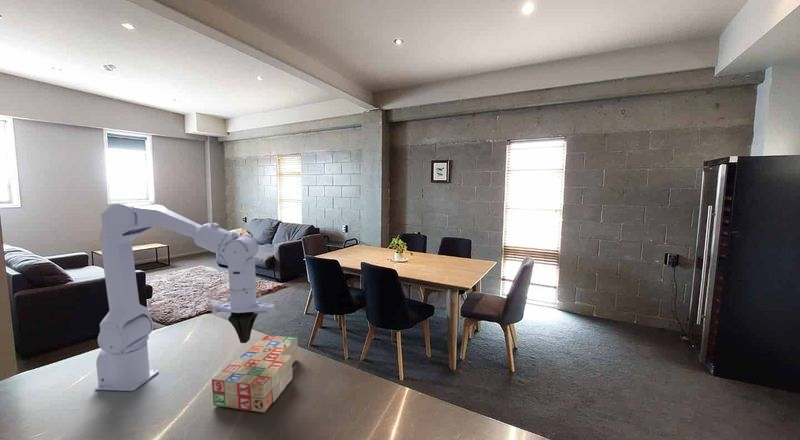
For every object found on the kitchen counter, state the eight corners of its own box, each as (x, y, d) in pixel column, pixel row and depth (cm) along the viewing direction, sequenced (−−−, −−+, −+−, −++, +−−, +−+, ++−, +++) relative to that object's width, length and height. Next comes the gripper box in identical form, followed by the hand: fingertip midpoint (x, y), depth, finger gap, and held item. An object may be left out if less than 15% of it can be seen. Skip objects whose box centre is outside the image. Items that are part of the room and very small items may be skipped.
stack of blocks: (266, 334, 90) (308, 337, 89) (267, 355, 91) (308, 359, 89) (211, 379, 69) (264, 385, 68) (212, 406, 70) (265, 413, 68)
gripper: (279, 282, 81) (281, 334, 83) (223, 281, 82) (225, 332, 83) (266, 292, 74) (268, 348, 76) (205, 290, 75) (208, 346, 76)
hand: (245, 341), depth 79 cm, fingers closed
